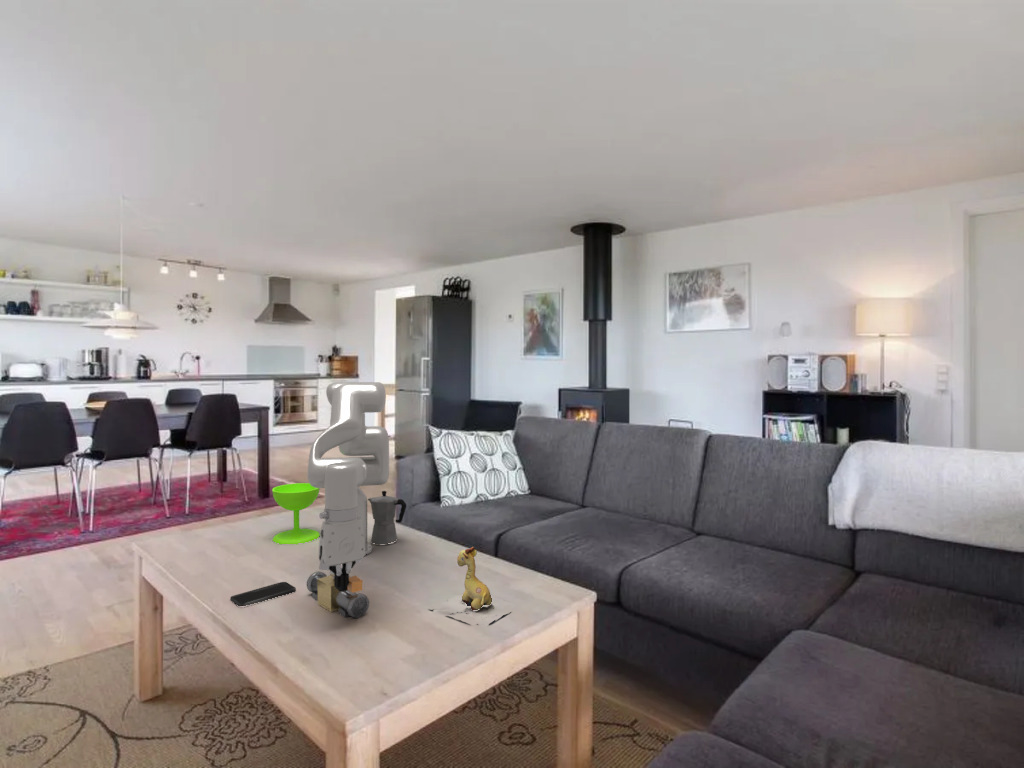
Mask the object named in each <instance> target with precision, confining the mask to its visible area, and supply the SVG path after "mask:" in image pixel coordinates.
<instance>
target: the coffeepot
mask: <svg viewBox="0 0 1024 768" xmlns="http://www.w3.org/2000/svg"><path fill="white" fill-rule="evenodd" d="M381 493H382V495H380V496H375V497H373V496H372V497H369V498H367V501H369V503H370V505H371V506H370V507H371V513H372V519H373V521H374V524H373V526H372V527H373V528H372V534H371V539H370V543H371V542H372V543H375V544H388V543H391V542H394V541H396V539H397V540H398V534H397V530H396V529H397V528H396V523H398V524H400V523H402V522H403V519H404V515H405V512H406V509H407V503H406V502H405V501H404V499H401V498H400V499H399V498H397V497H395V496H392V495H391V496H390V495H387V493H388V492H387V491H386V490H383V491H381ZM397 505H399V506H401V507H400V513H399V514H398V516H399V517H398V519H395V517H396V511H397ZM395 522H396V523H395ZM372 543H371V544H372Z"/></svg>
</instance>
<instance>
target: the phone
mask: <svg viewBox="0 0 1024 768" xmlns="http://www.w3.org/2000/svg"><path fill="white" fill-rule="evenodd" d="M295 591H297V590H296V587H295V586H294V585H292V584H290V583H289V582H287V581H280V582H277V583H273V584H270V585H267V586H263V587H259V588H255V589H251V590H248V591H245V592H241V593H238V594H235V595H231V596H230V600H231V601H233V602H234V603H236V604H237V605H238V606H246V605H250V604H254V603H257V604H259V603H258V602H261V603H263V602H262V601H264V602H266V601H265V600H267V601H269V600H268V599H271V600H273V599H272V598H274V599H276V598H275V597H277V598H279V597H278V596H281V597H283V596H282V595H284V596H287V595H290V594H289V593H291V594H293V593H292V592H294V593H296V592H295ZM286 594H287V595H286ZM230 600H229V601H230ZM233 602H232V603H233ZM237 605H236V606H237ZM254 605H255V604H254ZM238 606H237V607H238Z"/></svg>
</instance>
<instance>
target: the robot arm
mask: <svg viewBox="0 0 1024 768" xmlns="http://www.w3.org/2000/svg"><path fill="white" fill-rule="evenodd" d="M325 392H326V393H325V394H326V398H327V401H328V403H329V404H330V406H331V407H330V409H331V410H330V420H329V426H328V427H327V428H325V429H324V430H323V431H322V432H321V433H320V434H319V435H318V436H317V437H316V438H315V440H314V441H313V443H312V444H311V447H310V449H309V455H308V456H309V457H308V463H307V481H308V483H310V485H311V486H313V487H315V488H320V489H324V509H323V512H320V513H319V518H320V520H321V519H323V520H322V524H321V528H320V532H319V534H320V537H319V538H318V539H319V540H318V542H319V543H318V559H319V566H318V568H319V570H321V571H332V572H333V573H334V586H335V588H336V589H337V590H339V591H340V592H343V591H344V590H345V591H346V590H348V585H349V576H350V573H351V572H352V569H353V568H354V566H355V565H357V564H358V563H361V562H362V561H363V559H364V557H365V556H366V554H367V555H369V554H371V552H372V551H373V546H372V544H369V543H368V497H367V495H366V493H365V492H364V491H363V490H362V488H360V487H365V486H381V485H385V484H387V482H388V481H389V478H390V477H389V476H390V439H389V433H388V431H387V429H386V428H385V427H383V426H378V425H376V426H373V425H371V426H369V425H366V414H368V413H369V414H371V413H381V412H383V410H384V408H385V405H386V397H387V396H386V393H387V392H386V388H385V386H384V384H383V383H382V382H378V381H363V382H362V381H338V382H332V383H330V384H328V385H327V386H326V391H325ZM336 447H338V450H339V452H340V454H341V455H343V456H346V457H323V456H324V455H325V454H326V453H327V452H329V451H330V450H332V449H334V448H336Z"/></svg>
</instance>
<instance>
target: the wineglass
mask: <svg viewBox="0 0 1024 768" xmlns="http://www.w3.org/2000/svg"><path fill="white" fill-rule="evenodd" d="M320 490H321V488H315V487H313V486H311V485H310V483H309V482H307V483H306V482H304V483H303V482H298V483H297V482H296V483H295V482H294V483H287V484H286V483H285V484H282V485H277V486H274V487H272V490H271V492H272V497H273V499H274V502H275V503H277V505H278V506H279V507H280V508H282V509H284V510H287V511H292V512H293V528H292V529H289V530H284V531H280V532H279V533H277V534H275V535H274V536H273V537H272V542H273V541H274V542H276V543H275V544H277V543H279V544H278V545H282V544H296V545H299V544H298V543H303V544H306V543H305V542H308V543H310V542H309V541H311V542H313V541H312V540H314V539H316V540H318V539H319V538H320V537H319V536H320V532H319V531H317V530H315V529H310V528H300V511H301V510H304V509H306V508H308V507H310V506H311V505H312V504H314V502H315V501H316V500H317V498H318V496H319V494H320ZM318 537H319V538H318ZM317 538H318V539H317ZM314 541H315V540H314ZM274 542H273V543H274Z"/></svg>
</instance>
